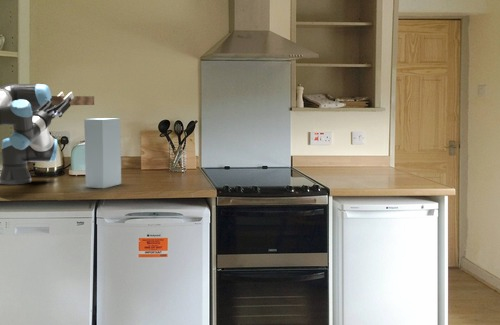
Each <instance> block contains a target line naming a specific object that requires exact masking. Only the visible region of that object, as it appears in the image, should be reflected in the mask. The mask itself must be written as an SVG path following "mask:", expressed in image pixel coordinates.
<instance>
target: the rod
mask: <svg viewBox="0 0 500 325" xmlns="http://www.w3.org/2000/svg"><path fill="white" fill-rule="evenodd" d="M66 96H67V95H64V96H58V95H51V98H52V105H55V106H56V105H58V104H59V103H61V102H62V101H63V99H64V98H65V97H66ZM73 96H74V98H73V99H72V100H71V101H70V102H69V103H70V105H71V106H95V96H94V95H93V96H90V95H89V96H85V95H83V96H82V95H81V96H80V95H78V96H76V95H73Z"/></svg>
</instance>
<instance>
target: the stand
mask: <svg viewBox="0 0 500 325" xmlns="http://www.w3.org/2000/svg"><path fill="white" fill-rule="evenodd" d="M83 121H84V165H85V166H84V167H85V169H84V170H85V188H95V189H107V188H111V187H113V186H114V187H115V186H117V185H118V186H119V185H122V155H121V154H122V153H121V152H122V150H121V148H122V147H121V145H122V144H121V141H122V140H121V137H122V136H121V118H109V117H103V118H102V117H101V118H98V117H97V118H84V120H83Z"/></svg>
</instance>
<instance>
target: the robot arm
mask: <svg viewBox="0 0 500 325" xmlns="http://www.w3.org/2000/svg"><path fill="white" fill-rule="evenodd" d="M57 96H66V97H65V98H64V99H63V101H62V102H61V103H59V104H58V105H52V91H51V89H50V87H49V85H47V84H41V83H8V84H4V85H2V86H0V126H12V127H13V132H12V133H11V134H10V136H9V137H7V138H4V139H2V141H1V148H0V149H1V162H2V167H1V172H0V185H9V186H10V185H23V184H24V185H25V184H29V183H32V176H31V174H30V171H29V169H28V163H29V162H31V163H33V162H34V163H35V162H37V163H41V162H42V163H43V162H44V163H45V162H46V163H49V162H55V161H56V160H57V151H58V139H56V138H54V137H53V136H52V135H51V134H50V127H49V126H50V125H51V124H52V120H54V119H55V118H56V117H59V118H62V117H63V114H65V113H66V112H67V111H68V109H69V108H70V107H71V106H72V105H70V103H69V102H70V101H71V100H72V99H73V98H74V96H75V95H74V93H73V91H70V92H69V93H67V95H65V94H64V92H63V91H61V92H60V93H59V94H58V95H57Z"/></svg>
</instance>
